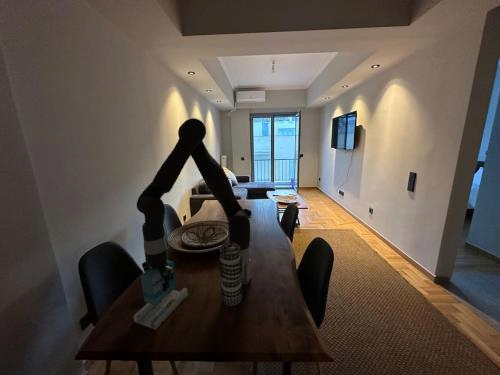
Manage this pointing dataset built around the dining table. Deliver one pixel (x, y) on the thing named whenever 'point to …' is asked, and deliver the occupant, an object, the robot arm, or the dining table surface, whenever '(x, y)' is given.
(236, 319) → the dining table surface
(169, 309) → the grey tray
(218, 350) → the dining table surface
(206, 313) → the dining table surface
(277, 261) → the dining table surface
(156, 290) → the data package
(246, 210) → the battery charger
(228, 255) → the leaning tower model
